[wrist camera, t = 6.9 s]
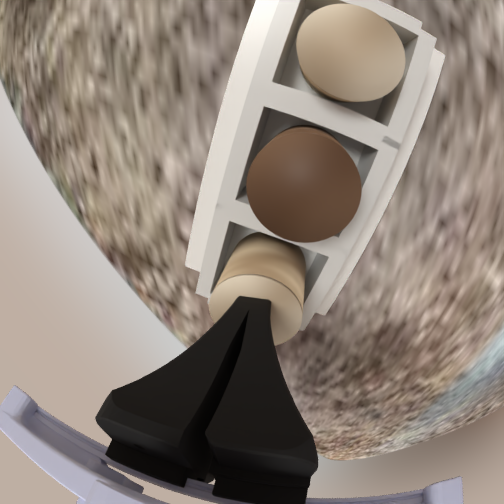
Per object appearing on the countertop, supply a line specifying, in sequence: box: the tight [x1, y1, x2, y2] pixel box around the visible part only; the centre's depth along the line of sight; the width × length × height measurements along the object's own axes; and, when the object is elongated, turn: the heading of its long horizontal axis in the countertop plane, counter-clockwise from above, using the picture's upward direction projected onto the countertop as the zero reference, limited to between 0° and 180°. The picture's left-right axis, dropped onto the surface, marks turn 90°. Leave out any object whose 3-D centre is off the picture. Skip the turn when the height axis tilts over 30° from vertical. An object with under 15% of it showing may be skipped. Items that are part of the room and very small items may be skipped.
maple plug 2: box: [296, 4, 406, 102], centre depth 9 cm, size 4×4×4 cm
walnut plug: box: [246, 125, 362, 243], centre depth 11 cm, size 4×4×4 cm
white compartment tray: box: [185, 0, 445, 331], centre depth 13 cm, size 10×18×4 cm, turn 164°
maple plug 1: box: [209, 232, 306, 345], centre depth 13 cm, size 4×4×4 cm
